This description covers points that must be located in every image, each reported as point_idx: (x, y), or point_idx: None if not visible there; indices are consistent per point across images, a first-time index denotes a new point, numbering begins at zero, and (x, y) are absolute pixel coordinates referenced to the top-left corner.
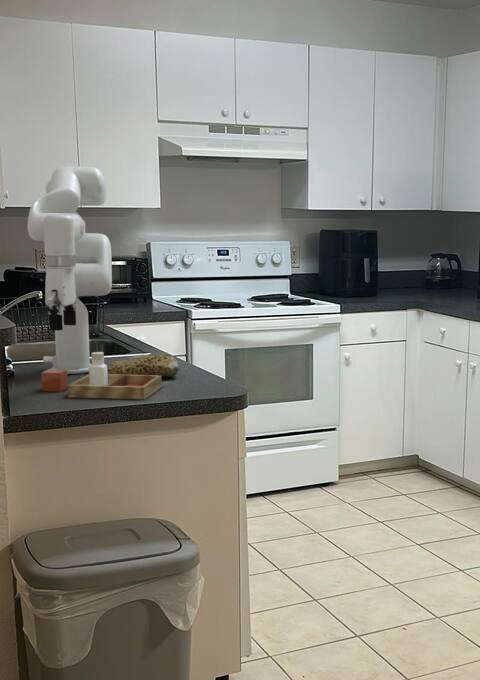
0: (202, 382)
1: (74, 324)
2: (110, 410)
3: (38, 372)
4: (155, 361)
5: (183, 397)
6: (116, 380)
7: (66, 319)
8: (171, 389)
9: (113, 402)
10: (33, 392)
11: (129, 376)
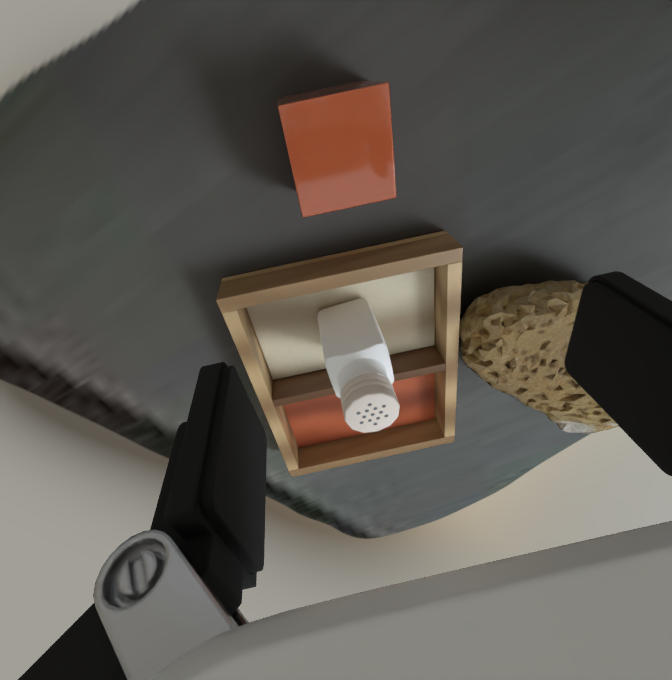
0: (500, 457)
1: (567, 367)
2: (149, 449)
3: None
4: (569, 409)
5: (339, 490)
6: None
7: (622, 335)
8: None
9: None
10: (235, 67)
11: (444, 377)
